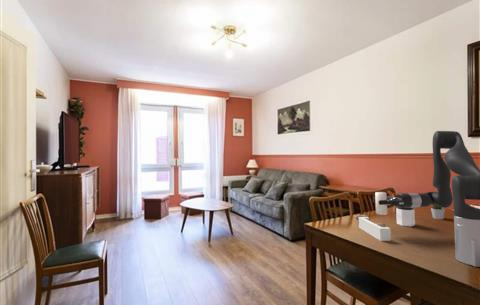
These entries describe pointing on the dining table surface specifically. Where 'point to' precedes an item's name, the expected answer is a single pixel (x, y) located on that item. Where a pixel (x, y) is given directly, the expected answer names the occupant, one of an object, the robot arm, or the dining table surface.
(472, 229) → the robot arm
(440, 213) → the house plant
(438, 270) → the dining table surface
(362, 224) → the stop rail
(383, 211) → the white pillar candle
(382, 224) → the roller
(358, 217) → the roller
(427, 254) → the dining table surface
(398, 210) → the jar
